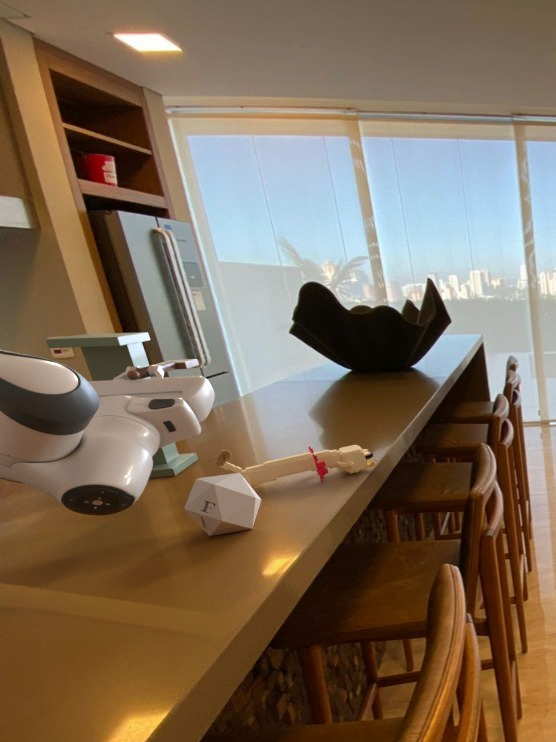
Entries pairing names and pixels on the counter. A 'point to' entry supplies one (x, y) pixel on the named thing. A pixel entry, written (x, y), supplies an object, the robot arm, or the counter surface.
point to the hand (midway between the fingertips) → (146, 369)
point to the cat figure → (302, 464)
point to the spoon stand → (109, 361)
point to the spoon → (165, 366)
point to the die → (223, 504)
